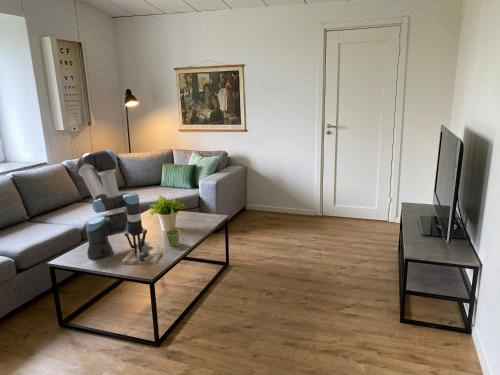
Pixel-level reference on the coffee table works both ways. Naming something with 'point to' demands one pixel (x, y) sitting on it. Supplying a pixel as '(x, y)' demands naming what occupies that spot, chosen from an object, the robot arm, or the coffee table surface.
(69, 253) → the coffee table surface
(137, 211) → the robot arm
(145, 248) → the saucepan with lid
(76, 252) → the coffee table surface
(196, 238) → the coffee table surface
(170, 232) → the plant pot
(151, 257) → the wooden cutting board
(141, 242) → the grey joystick
